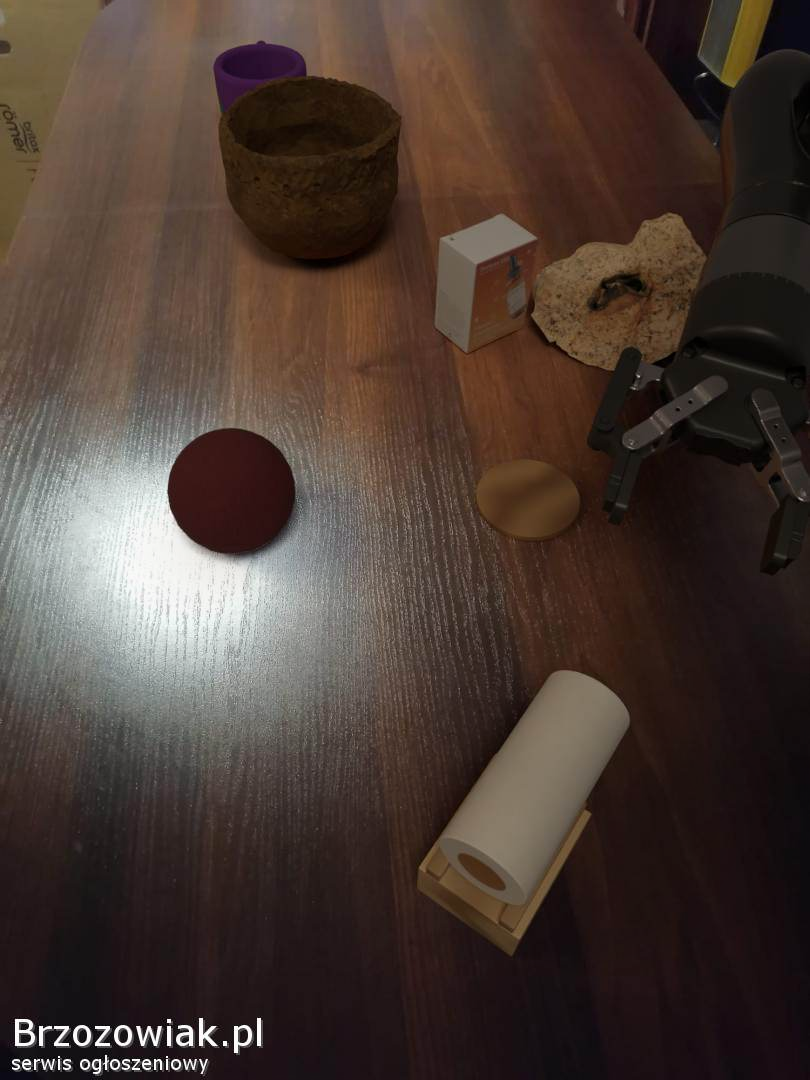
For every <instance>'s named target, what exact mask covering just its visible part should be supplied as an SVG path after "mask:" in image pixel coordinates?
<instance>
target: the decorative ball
mask: <svg viewBox="0 0 810 1080" xmlns="http://www.w3.org/2000/svg"><path fill="white" fill-rule="evenodd" d="M167 480H168V481H167V489H166V490H167V491H166V492H167V499H168V505H169V510H170V512H171V514H172V516H173V518H174V521H175V522H176V524H177V526H178V527H179V528H180V530H181V531H182V532H183V533H184V534H185V536H187V537H188V538H189V540H191V541H192V542H194V543H195V544H197V545H198V546H200V547H202V548H205V549H207V550H208V551H212V552H215V553H219V554H225V555H226V554H228V555H236V554H237V555H238V554H244V553H249V552H253V551H255V550H258V549H260V548H262V547H264V546H266V545H267V544H269V543H271V542H272V541H273V540H274V539H275V538H277V536H278V535H280V533H281V532H282V531H283V529H284V528H285V527H286V525H288V522H289V519H290V518H291V516H292V513H293V510H294V507H295V503H296V481H295V478H294V474H293V471H292V468H291V465H290V463H289V462H288V460H287V458H286V457H285V455H284V454H283V452H282V451H281V450H280V449H279V448H278V447H277V446H276V445H275V444H274V443H273V442H272V441H270V440H269V439H268V438H266V437H265V436H263V435H261V434H258V433H256V432H254V431H251V430H247V429H243V428H238V427H237V428H236V427H225V428H223V427H222V428H218V429H213V430H210V431H208V432H205V433H202V434H201V435H199V436H197V437H196V438H194V439H193V440H191V441H190V442H189V443H188V444H187V445H185V446H184V447H183V448H182V450H181V451H180V452H179V454H178V455H177V456H176V459H175V460H174V462H173V464H172V466H171V469H170V471H169V475H168V479H167Z"/></svg>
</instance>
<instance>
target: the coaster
mask: <svg viewBox="0 0 810 1080" xmlns="http://www.w3.org/2000/svg"><path fill="white" fill-rule="evenodd" d="M475 504H476V509H477V511H478V513H479V515H480V517H481V519H483V521H484V522H485V523H486V524H487V525H488V526H489V527H490V528H491V529H493V530H494V531H496V532H497V533H499V534H501V535H503V536H505V537H508V538H511V539H514V540H518V541H525V542H540V541H541V542H542V541H547V540H550V539H554V538H557V537H558V536H560V535H562V534H564V533H565V532H567V531H568V530H569V529H570V528H571V527H572V526H573V525H574V523H575V521H576V520H577V518H578V514H579V511H580V507H581V497H580V493H579V491H578V488H577V486H576V485H575V483H574V482H573V480H572V479H571V478H570V477H569V476H568V475H567V474H566V473H565V472H563V471H562V470H561V469H559V468H557V467H555V466H554V465H552V464H549V463H547V462H545V461H544V462H543V461H541V460H540V461H539V460H535V459H528V458H527V459H526V458H525V459H524V458H519V459H511V460H506V461H502V462H500V463H498V464H496V465H494V466H491V468H489V469H488V470H486V472H485V473H484V474H483V475H482V476H481V477H480V479H479V481H478V483H477V485H476V490H475Z"/></svg>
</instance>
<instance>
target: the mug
mask: <svg viewBox="0 0 810 1080" xmlns="http://www.w3.org/2000/svg"><path fill="white" fill-rule="evenodd" d="M212 66H213V68H212V69H213V75H214V82H215V89H216V94H217V99H218V105H219V110H220V114H221V115H220V116H222V114H223V113H224V112H225V111H226V110H228V109H229V107H230V106H231V105H232V103H233V102H234V101H235V100H236V98H237V97H238V96H240V95H243V94H244V93H245V92H247V91H248V90H250V89H253V88H256V87H257V86H258V85H260V84H263V83H266V82H268V81H270V80H272V79H274V80H277V79H279V78H283V77H290V76H291V77H299V76H308V73H307V71H308V70H307V62H306V61H305V58H304V57H303V55H302V54H301V53H300V52H299V51H297V50H295V49H293V48H292V47H288V46H285V45H282V44H281V45H280V44H275V43H266V41H264V40H257V42H256V43H249V44H244V45H238V46H235V47H232V48H229V49H227V50H225V51H223V52H221V53H220V54H219V55H218V56H217V57H216V58H215V60H214V63H213V65H212Z"/></svg>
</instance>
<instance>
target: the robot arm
mask: <svg viewBox="0 0 810 1080" xmlns="http://www.w3.org/2000/svg"><path fill="white" fill-rule="evenodd" d="M719 146H720V147H719V152H720V166H721V179H722V197H723V204H724V205H723V210H722V213H721V217H720V220H719V223H718V227H717V230H716V234H715V237H714V240H713V243H712V246H711V249H710V251H709V252H708V253H709V254H708V256H706V258H707V259H706V261H705V263H704V265H703V268H702V270H701V273H700V275H699V279H698V282H697V285H696V288H695V289H694V291H693V293H692V296H691V302H690V308H689V312H688V315H687V319H686V322H685V325H684V328H683V332H682V335H681V338H680V342H679V345H678V348H677V351H675V355H674V358H673V360H672V362H671V363H670V364H668V366H666V367H665V368H664V367H662V366H658V365H655V364H654V363H653V364H650V363H647V362H644V361H641V359H642V354H641V352H640V351H639V350H638V349H637V348H634V347H627V348H625V349H624V350H623V351H622V352H621V355H620V357H619V360H618V362H617V365H616V367H615V369H614V371H612V373H611V374H612V375H611V376H610V379H609V381H608V383H607V387H606V388H605V391H604V394H603V396H602V398H601V401H600V403H599V405H598V409H597V410H596V413H595V415H594V418H593V421H592V424H591V427H590V429H589V432H588V435H587V438H586V444H587V446H588V448H589V449H591V450H592V451H595V452H602V453H604V454H606V455H607V456H608V457H609V460H610V461H611V467H610V470H609V474H608V476H607V479H606V483H605V485H604V489H603V492H602V495H601V498H600V502H599V503H600V510H601V511H602V512H605V513H607V514H608V513H609V514H608V517H607V521H606V523H607V524H611V525H614V526H617V527H620V526H621V523H622V521H623V520H624V517H625V515H626V514H627V510H628V508H629V504H630V500H631V498H632V494H633V490H634V487H635V485H636V481H637V478H638V474H639V470H640V469H641V468H640V467H641V464H642V462H643V461H644V460H646V459H649V457H651V456H658V455H659V454H661V453H663V452H664V451H666V450H667V449H669V448H671V447H672V446H674V445H676V444H678V443H679V442H680V444H682V445H683V446H684V447H686V449H685V451H686V452H688V453H692V454H695V455H699V456H711V457H715V458H717V459H718V460H720V461H722V462H723V463H726V464H729V465H732V466H735V467H741V465H742V464H747V466H748V468H749V470H750V472H751V474H752V475H753V478H754V480H755V481H756V483H757V485H758V486H759V487H760V488H761V489H764V490H765V491H766V493H767V495H768V496H769V498H770V500H771V503H772V504H773V506H774V508H775V512H774V513H773V514H772V515H771V517H770V521H769V524H768V530H767V534H766V538H765V542H764V547H763V551H762V556H761V560H760V564H759V571H758V572H760V573H762V574H765V575H768V576H771V577H773V576H775V575H776V574H777V573H778V572H779V571H781V569H784V570H785V569H787V568H788V567H789V566H790V565H791V564H792V563H793V562H794V561H795V560H796V558H797V557H798V556H799V555H800V554H801V552H802V547H803V542H804V537H805V534H806V528H807V524H808V520H809V519H808V518H810V476H809V474H808V472H807V470H806V468H805V467H804V464H803V461H802V459H803V454H802V450H801V449H800V447H799V445H798V443H797V441H796V439H795V436H796V435H798V433H799V432H802V433H804V434H805V435H807V436H808V438H809V439H810V407H809V405H808V402H807V399H806V387H807V384H808V380H809V376H810V375H809V374H810V54H809V53H806V52H803V51H800V50H797V49H791V48H785V49H778V50H775V51H773V52H770V53H768V54H765V55H764V56H762V57H760V58H759V59H757V60H756V61H755V62H753V64H751V65H750V66H749V67H748V68H747V69H746V70H745V72H743V74H742V75H741V77H740V78H739V79H738V81H737V82H736V84H735V85H734V87H733V89H732V90H731V93H730V95H729V97H728V101H727V103H726V106H725V109H724V113H723V117H722V122H721V127H720V136H719ZM649 389H655V391H656V397H657V398H658V400H659V402H660V405H661V407H660V408H658V409H657V410H656V411H654V413H653V414H652V415H651V416H649V417H648V418H647V419H646V420H643V421H642V422H640V423H639V424H637V425H635V426H634V427H632V428H630V429H629V430H628V429H626V428H625V427H623V426H622V425H620V424H618V423H617V422H618V419H619V416H620V414H621V412H622V409H623V407H624V405H625V402H626V399H628V400H634V399H637V398H640V397H641V396H643V394H644V392H645V391H648V390H649ZM770 453H771V455H770Z"/></svg>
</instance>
